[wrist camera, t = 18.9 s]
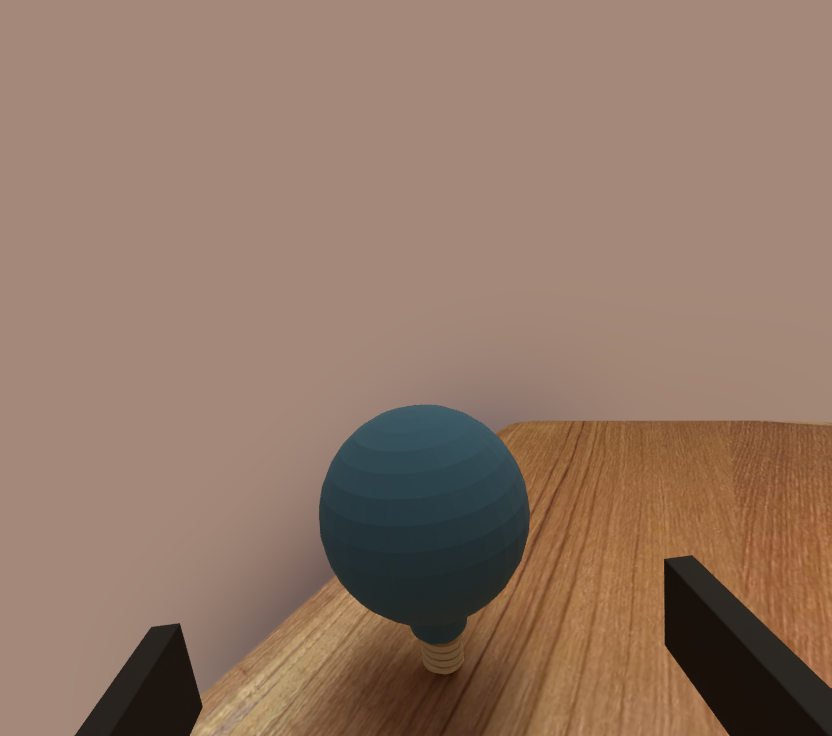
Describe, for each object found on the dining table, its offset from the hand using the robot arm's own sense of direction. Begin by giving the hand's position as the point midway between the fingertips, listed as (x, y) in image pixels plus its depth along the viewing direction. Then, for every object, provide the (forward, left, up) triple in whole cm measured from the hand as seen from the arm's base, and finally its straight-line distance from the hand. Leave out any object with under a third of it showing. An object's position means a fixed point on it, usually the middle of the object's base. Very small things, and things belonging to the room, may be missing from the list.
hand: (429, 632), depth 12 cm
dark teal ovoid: (-5, +4, -8) cm, 10 cm away
